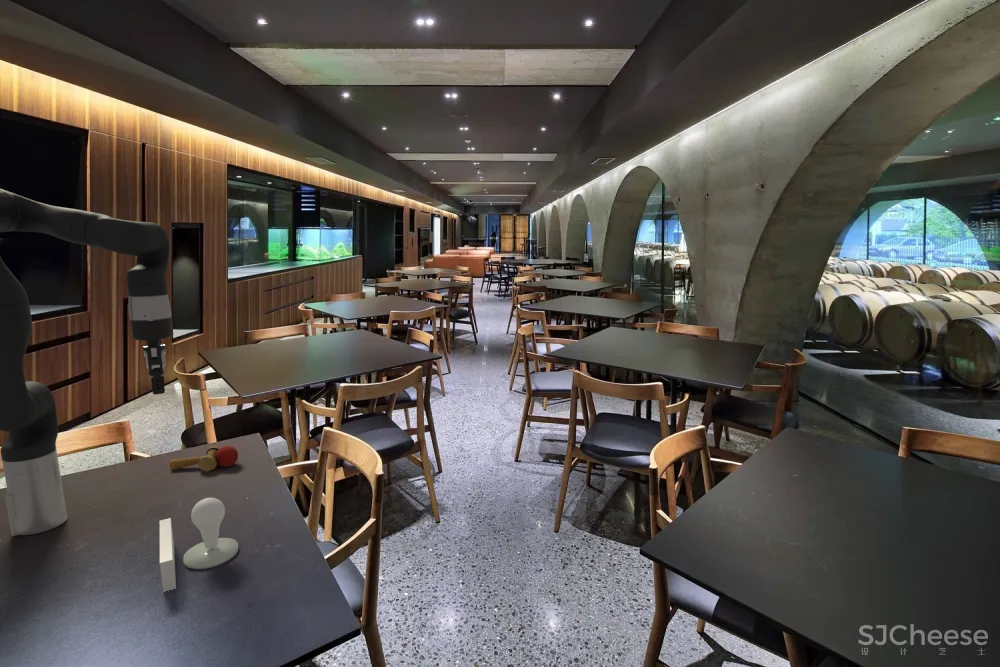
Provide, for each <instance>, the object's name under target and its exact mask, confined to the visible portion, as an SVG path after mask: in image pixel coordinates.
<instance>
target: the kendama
mask: <svg viewBox="0 0 1000 667" xmlns="http://www.w3.org/2000/svg"><path fill="white" fill-rule="evenodd" d="M238 460H239V451H238V450H237V449H236V448H235V447H233V446H232V445H225V446H221V447H219V446H215V445H212V446H210V447H208V449H207V450H206V453H205V455H202V456H193V457H185V458H184V457H183V458H173V459H171V460H170V461H169V469H170V470H171V471H175V470H178V469H182V468H187V467H190V466H196V465H197V466H198V468H199V469H200V470H201V471H202V472H205V471H204V470H208V469H209V470H212V471H214V470H215V469H216V468H217V465H218V466H220V467H223V468H228V466H229V467H231V465H232V466H233V465H235V464H236V463H237V462H238Z"/></svg>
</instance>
